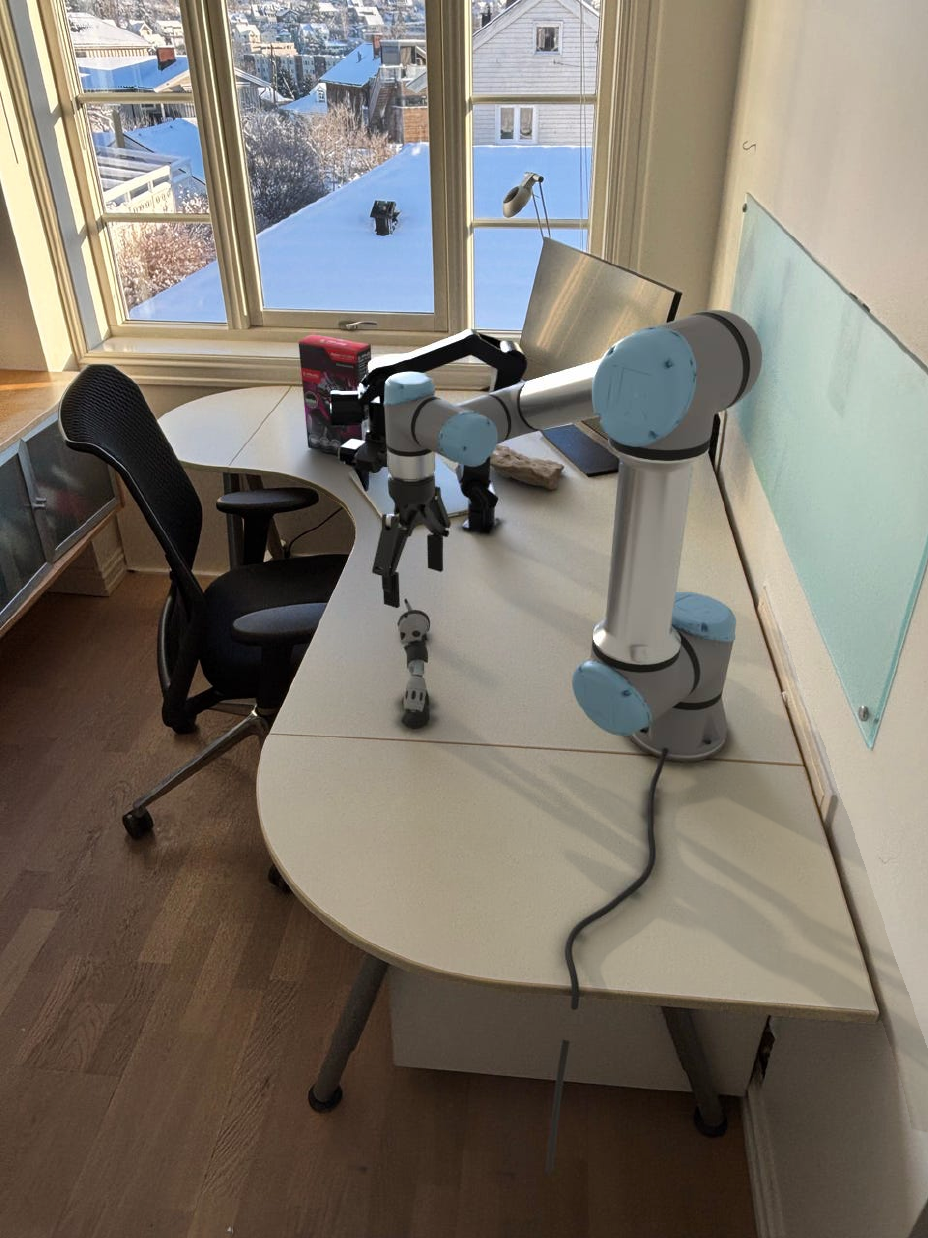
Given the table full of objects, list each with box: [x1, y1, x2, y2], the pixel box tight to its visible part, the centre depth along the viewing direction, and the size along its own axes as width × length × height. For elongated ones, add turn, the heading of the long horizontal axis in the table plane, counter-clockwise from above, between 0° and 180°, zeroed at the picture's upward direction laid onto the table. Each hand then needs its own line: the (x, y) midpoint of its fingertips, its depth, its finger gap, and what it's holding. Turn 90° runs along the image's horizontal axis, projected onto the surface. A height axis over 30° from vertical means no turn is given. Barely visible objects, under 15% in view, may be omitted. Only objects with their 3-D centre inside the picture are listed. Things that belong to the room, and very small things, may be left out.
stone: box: [490, 444, 565, 490], centre depth 217 cm, size 21×15×6 cm
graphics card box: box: [297, 333, 372, 455], centre depth 223 cm, size 17×7×27 cm, turn 62°
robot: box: [396, 598, 431, 729], centre depth 141 cm, size 20×5×20 cm, turn 3°
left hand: (386, 494), depth 192 cm, fingers open, 9 cm apart
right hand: (414, 586), depth 157 cm, fingers open, 13 cm apart
